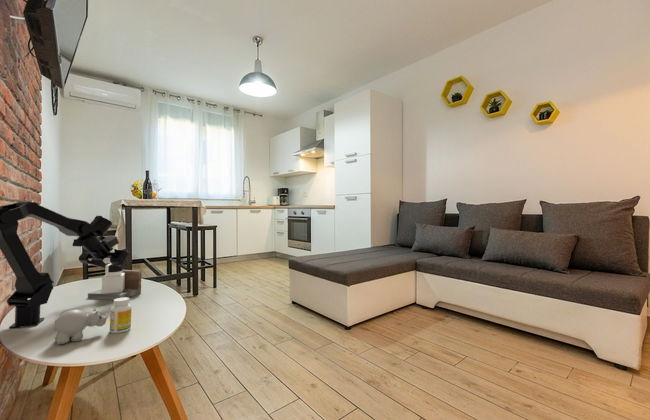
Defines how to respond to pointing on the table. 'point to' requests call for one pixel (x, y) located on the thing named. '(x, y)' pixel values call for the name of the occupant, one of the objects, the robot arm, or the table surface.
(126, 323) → the supplement bottle
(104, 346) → the table surface
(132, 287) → the wall board
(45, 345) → the table surface
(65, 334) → the round bodied animal figurine
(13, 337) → the table surface
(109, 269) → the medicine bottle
